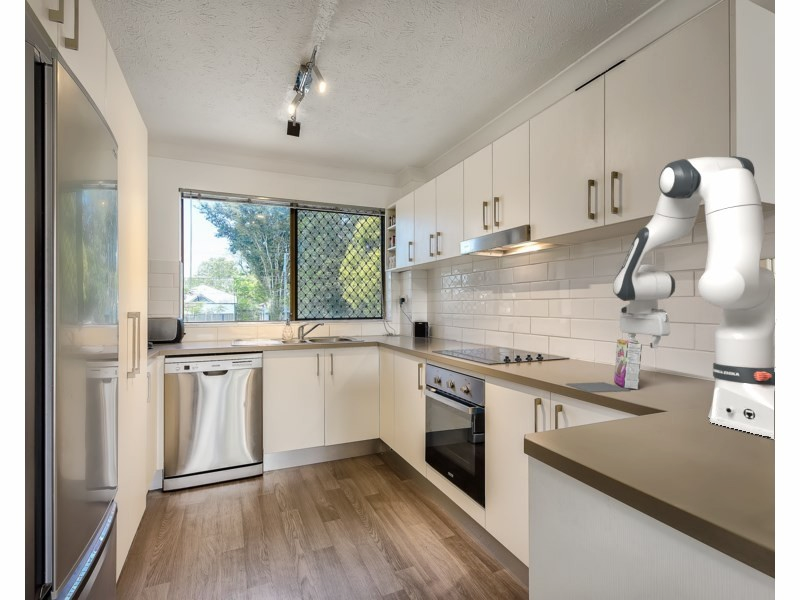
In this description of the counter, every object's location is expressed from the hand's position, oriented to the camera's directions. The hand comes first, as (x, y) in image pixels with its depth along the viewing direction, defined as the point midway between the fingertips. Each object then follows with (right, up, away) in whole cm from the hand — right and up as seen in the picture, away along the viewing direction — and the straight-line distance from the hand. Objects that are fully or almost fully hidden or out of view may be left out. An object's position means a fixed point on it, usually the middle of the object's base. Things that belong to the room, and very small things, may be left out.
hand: (643, 346), depth 144 cm
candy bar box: (-8, -14, -2) cm, 16 cm away
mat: (-19, -14, -3) cm, 24 cm away
